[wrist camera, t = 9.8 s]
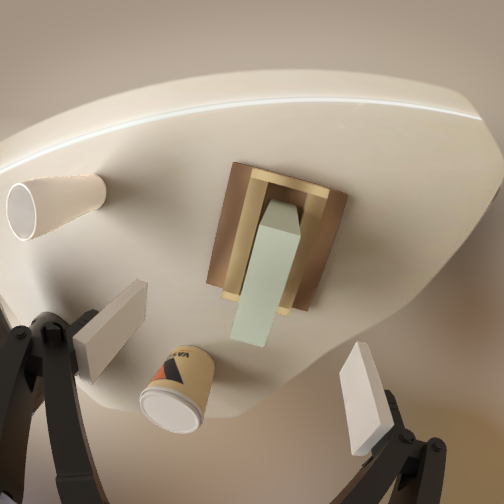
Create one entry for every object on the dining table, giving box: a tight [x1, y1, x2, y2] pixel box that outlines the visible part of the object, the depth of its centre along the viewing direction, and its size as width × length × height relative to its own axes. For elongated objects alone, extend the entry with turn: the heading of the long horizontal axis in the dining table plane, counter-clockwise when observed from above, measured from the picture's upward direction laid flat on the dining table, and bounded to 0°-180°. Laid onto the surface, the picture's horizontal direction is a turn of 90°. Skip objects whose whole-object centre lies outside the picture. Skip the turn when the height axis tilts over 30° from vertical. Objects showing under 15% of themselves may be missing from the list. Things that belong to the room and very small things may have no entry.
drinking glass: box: [6, 174, 106, 241], centre depth 30 cm, size 7×7×15 cm
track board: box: [206, 162, 348, 316], centre depth 34 cm, size 14×16×4 cm
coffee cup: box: [140, 345, 215, 433], centre depth 38 cm, size 9×9×12 cm
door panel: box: [230, 199, 301, 348], centre depth 28 cm, size 3×10×14 cm, turn 166°
